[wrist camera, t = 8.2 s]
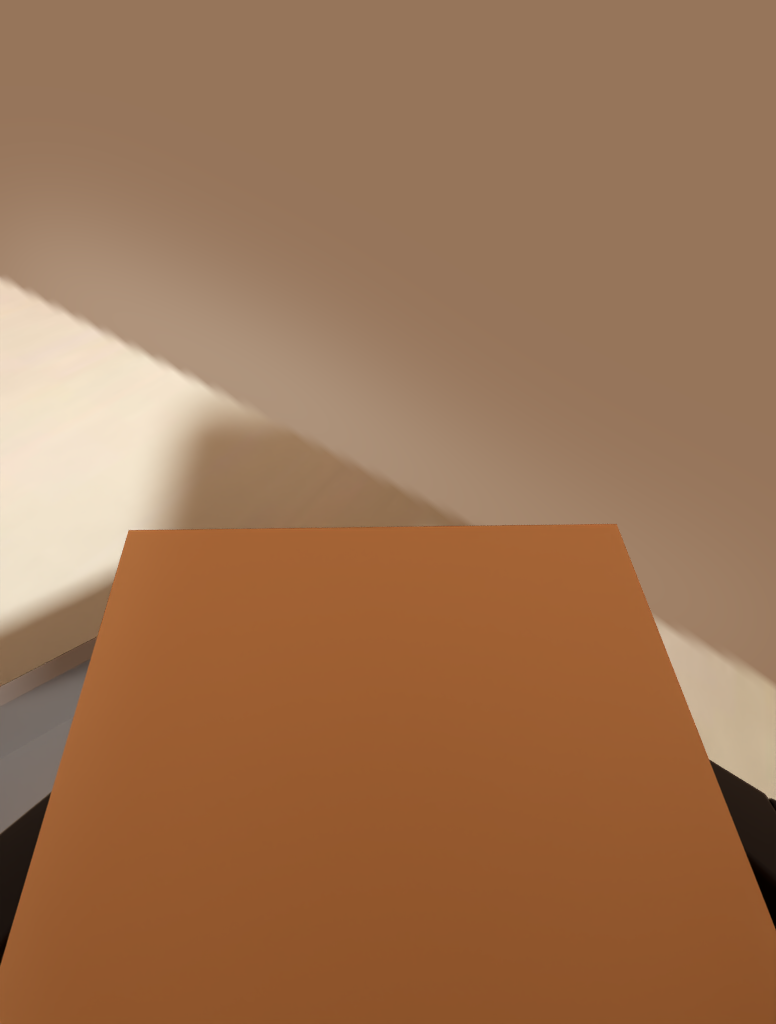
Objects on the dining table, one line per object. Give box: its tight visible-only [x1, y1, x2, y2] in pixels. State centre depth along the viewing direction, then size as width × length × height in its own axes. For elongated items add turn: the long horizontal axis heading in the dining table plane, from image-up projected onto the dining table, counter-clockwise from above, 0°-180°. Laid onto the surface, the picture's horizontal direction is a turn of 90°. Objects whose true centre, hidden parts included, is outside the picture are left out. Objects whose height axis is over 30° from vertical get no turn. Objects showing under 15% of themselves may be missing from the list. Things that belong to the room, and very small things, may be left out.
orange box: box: [0, 524, 776, 1024], centre depth 7 cm, size 6×6×10 cm
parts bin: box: [0, 637, 97, 833], centre depth 9 cm, size 9×9×4 cm
